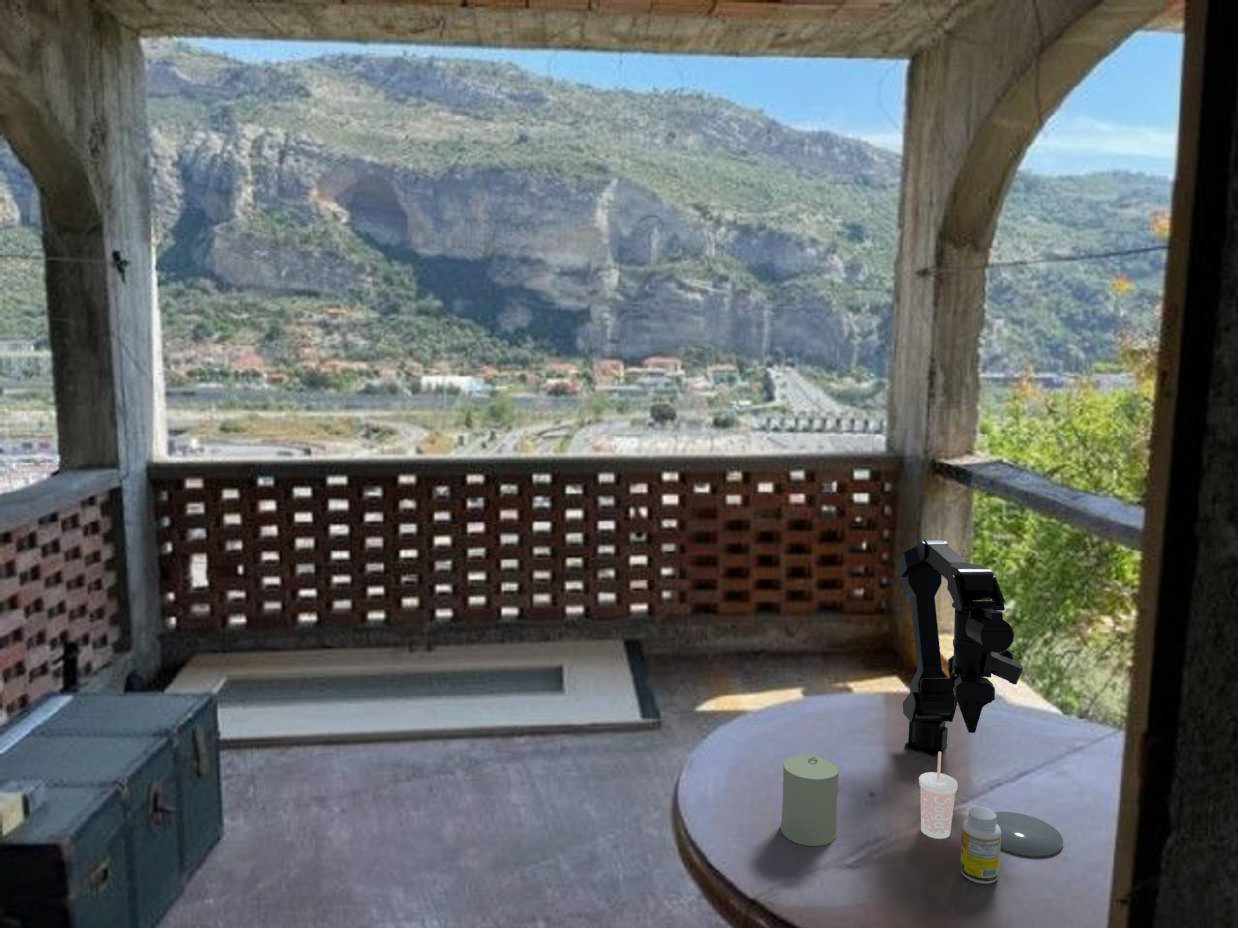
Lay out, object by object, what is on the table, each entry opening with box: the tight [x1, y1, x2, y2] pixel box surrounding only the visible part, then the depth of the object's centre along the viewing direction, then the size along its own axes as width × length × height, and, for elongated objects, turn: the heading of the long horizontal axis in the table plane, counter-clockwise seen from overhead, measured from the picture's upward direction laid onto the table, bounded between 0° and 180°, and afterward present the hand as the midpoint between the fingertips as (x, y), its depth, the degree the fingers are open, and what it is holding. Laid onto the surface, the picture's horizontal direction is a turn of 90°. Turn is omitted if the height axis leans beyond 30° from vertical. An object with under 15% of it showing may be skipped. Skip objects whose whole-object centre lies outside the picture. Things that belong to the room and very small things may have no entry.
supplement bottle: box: [959, 806, 1001, 885], centre depth 141 cm, size 6×6×10 cm
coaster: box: [994, 811, 1064, 858], centre depth 153 cm, size 13×13×1 cm
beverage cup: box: [918, 751, 959, 840], centre depth 153 cm, size 6×6×14 cm
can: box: [780, 753, 840, 847], centre depth 153 cm, size 9×9×12 cm
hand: (969, 723), depth 165 cm, fingers open, 9 cm apart
